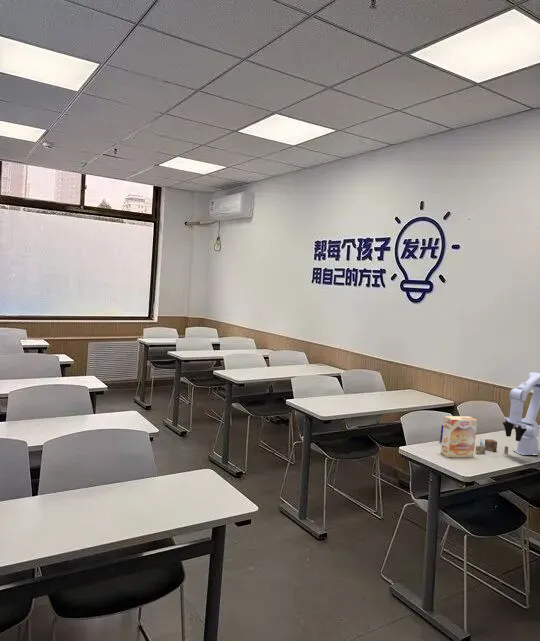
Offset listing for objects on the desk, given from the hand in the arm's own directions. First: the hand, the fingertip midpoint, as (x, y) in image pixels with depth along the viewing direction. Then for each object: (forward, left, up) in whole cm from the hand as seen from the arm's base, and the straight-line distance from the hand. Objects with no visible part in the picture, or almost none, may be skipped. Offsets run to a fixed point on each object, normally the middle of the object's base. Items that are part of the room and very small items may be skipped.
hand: (513, 438), depth 263 cm
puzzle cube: (+19, -25, -11) cm, 33 cm away
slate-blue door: (+8, -12, -10) cm, 18 cm away
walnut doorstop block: (+3, -13, -10) cm, 17 cm away
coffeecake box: (+28, -4, -11) cm, 30 cm away
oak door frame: (+6, -7, -10) cm, 14 cm away
